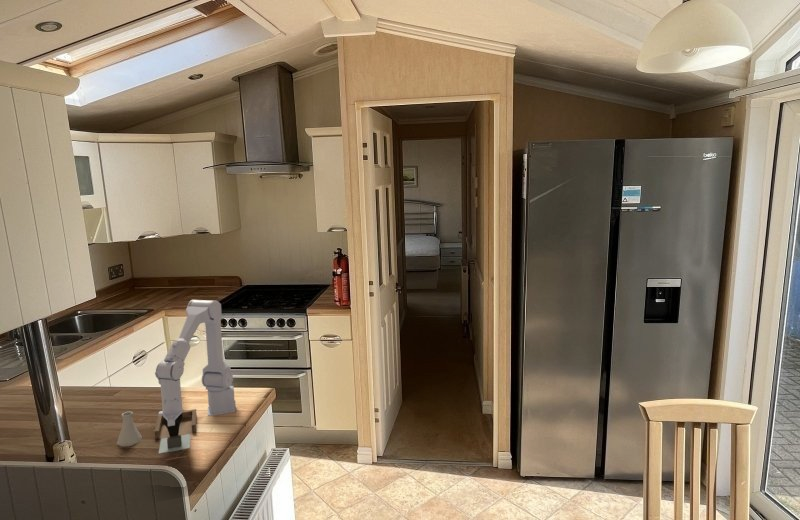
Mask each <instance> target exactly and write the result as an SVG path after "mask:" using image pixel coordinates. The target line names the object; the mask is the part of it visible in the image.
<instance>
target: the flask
mask: <svg viewBox="0 0 800 520" xmlns="http://www.w3.org/2000/svg"><path fill="white" fill-rule="evenodd" d="M133 414H134V412H133V411H125V412H122V414H121V417H122V425H121V429H120V432H119V436H118V438H117V442H116V444H115V445H117V446H119V447H123V448H124V447H132V446H134V445H136V444H138V443H140V442H141V441H142V439H143V437H142V435H141V433H140V431H139V429H138V428H137V426H136V424H135V421H134V419H133Z"/></svg>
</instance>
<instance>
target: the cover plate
mask: <svg viewBox="0 0 800 520" xmlns="http://www.w3.org/2000/svg"><path fill="white" fill-rule="evenodd" d="M191 436H192V433H191V434H185V435H177V436H171V437H167V438H162V439H160V442H159V443H160V444H159V449H158V455H160V454H164V453H172V452H176V451H183V450H187V449H189V450H190V449H191Z"/></svg>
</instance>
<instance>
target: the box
mask: <svg viewBox="0 0 800 520" xmlns="http://www.w3.org/2000/svg"><path fill="white" fill-rule="evenodd" d="M182 413H183V416H182V421H181V423H180V426H179V434H178V435H186V434H191V435H192V434H196V433H197V418H198V417H197V416H198V415H197V408H195V409H189V410H183V412H182ZM163 418H164V417H163V416H162V415H161V416H159V414H158V415H157V419H156V423H155V428H154V438H155V439H154V440H161V439H162V438H167V437H170V435H169V432H168V429H167V427H166V426H165V424H164V423H163Z"/></svg>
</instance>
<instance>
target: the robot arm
mask: <svg viewBox="0 0 800 520" xmlns="http://www.w3.org/2000/svg"><path fill="white" fill-rule="evenodd" d="M185 313H186V319H185V321H184V323H183V326H182V329H181V331H180V334H179V336H178V338H177V339H175V340H173V341H172V343H171V345H170V347H169V349H168V351H167V353H166V355H165V357H164V359H163V360H162V361H160V362H159V363H158V364H157V366H156V368H155V372H154V375H155V377H156V379H157V381H158V382H157V383H158V384H159V385H160V396H161V397H160V398H161V409H162V410H160V411H159V412H158V415H159V416H161V415H162V416H163V417H164V418H163V423H164V424H165V426H166V427H167V429H168V432H169V435H170V437H171V436H177V435H178V434H179V426H180V423H181V421H182V416H183V413H182V412H183V411H184V409H183V403H182V388H181V386H182V385H181V378H182V376H183V374H184V370H185V368H184V367H185V365H186V364H185V360H186V359H187V356H188V354H189V352H190V349H191V344H190V342H191V340H192V338H193V336H194V334H195V333H196V332H197V330H198V328H199V325H200V324H202V323H203V324H204V325H205V336H206V337H205V338H206V351H207V352H206V355H207V364H206V365H205V366H204V367H203V368H202V375H201V384H202V386H203V387H205V390H207V401H208V402H207V403H208V406H207V416H208V417H211V416H216V415H222V414H223V415H224V414H229V413H230V414H231V413H235V412H236V400H235V389H234V388H235V387H234V385H232V384H233V381H234V376H233V373H232V369H231V368H232V367H231V366H230V365H229V364H228V363H226V362H225V361H224V354H223V351H224V350H223V340H222V339H223V338H222V323H221V320H223V316H222V303H220V301H218V300H215V299H214V300H212V299H211V300H208V299H207V300H205V299H204V300H203V299H195V298H194V299H191V300H190V301H189V302H188V303H187V307H186V308H185Z"/></svg>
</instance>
